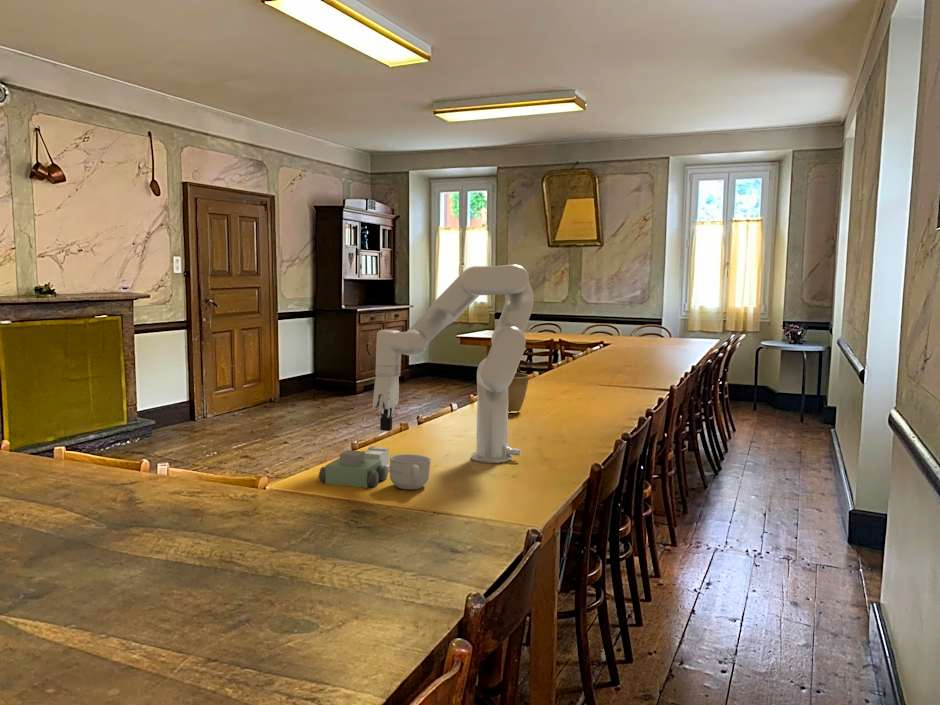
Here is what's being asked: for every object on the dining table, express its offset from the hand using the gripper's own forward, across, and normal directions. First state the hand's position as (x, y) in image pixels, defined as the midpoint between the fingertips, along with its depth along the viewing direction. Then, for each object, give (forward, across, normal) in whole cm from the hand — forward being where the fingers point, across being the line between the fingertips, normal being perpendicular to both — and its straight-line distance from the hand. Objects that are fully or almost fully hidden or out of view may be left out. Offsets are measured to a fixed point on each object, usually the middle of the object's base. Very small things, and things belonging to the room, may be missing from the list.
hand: (385, 430), depth 220 cm
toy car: (+9, +21, +1) cm, 23 cm away
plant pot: (+8, -91, +20) cm, 93 cm away
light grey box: (+9, +10, +1) cm, 14 cm away
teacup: (+9, +27, +18) cm, 34 cm away
